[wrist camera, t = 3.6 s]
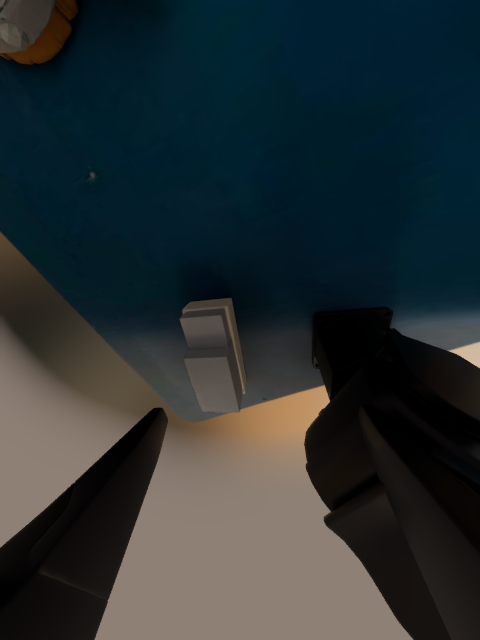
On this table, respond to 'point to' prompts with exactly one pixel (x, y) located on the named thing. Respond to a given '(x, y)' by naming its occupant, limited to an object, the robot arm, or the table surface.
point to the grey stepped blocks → (214, 354)
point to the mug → (34, 28)
